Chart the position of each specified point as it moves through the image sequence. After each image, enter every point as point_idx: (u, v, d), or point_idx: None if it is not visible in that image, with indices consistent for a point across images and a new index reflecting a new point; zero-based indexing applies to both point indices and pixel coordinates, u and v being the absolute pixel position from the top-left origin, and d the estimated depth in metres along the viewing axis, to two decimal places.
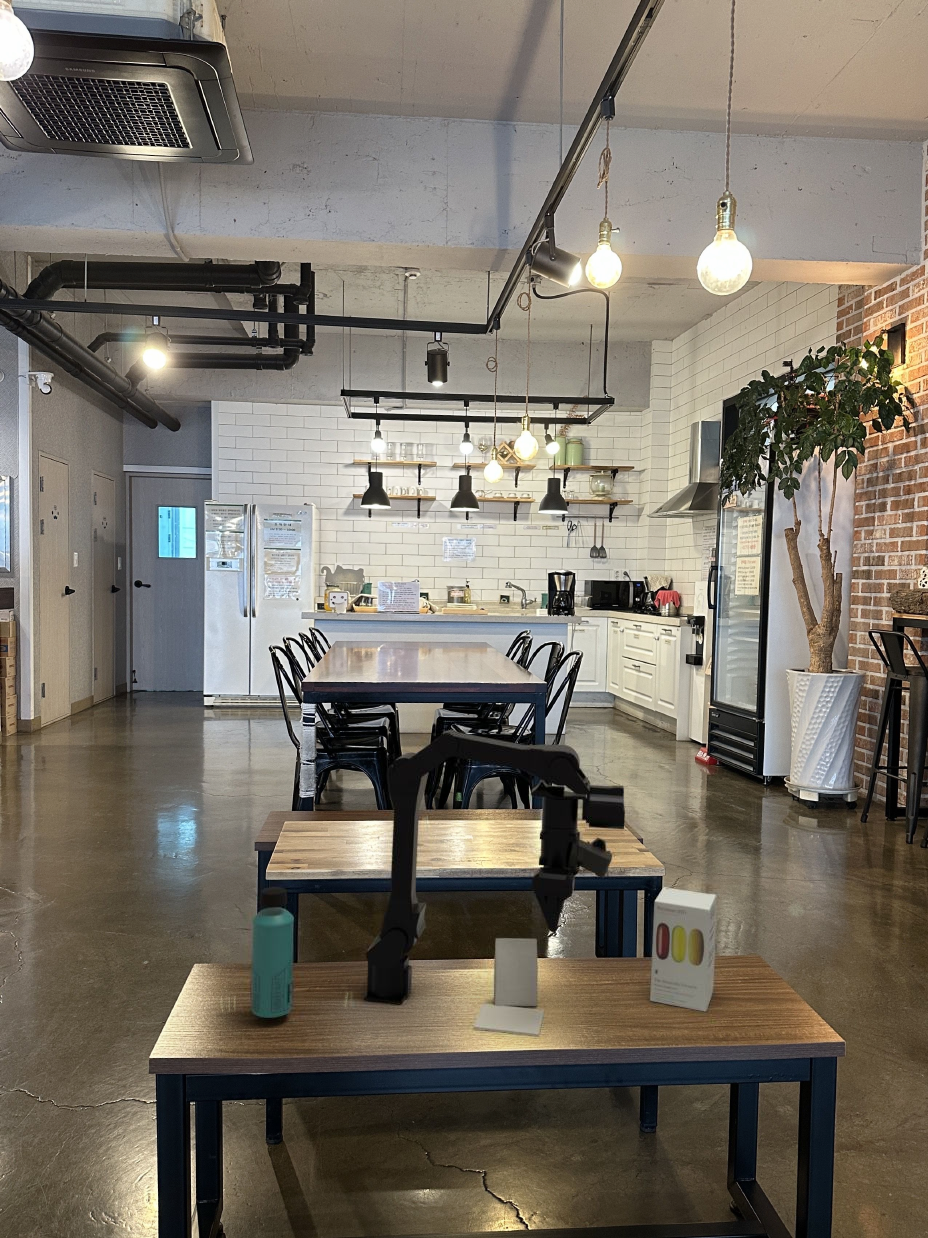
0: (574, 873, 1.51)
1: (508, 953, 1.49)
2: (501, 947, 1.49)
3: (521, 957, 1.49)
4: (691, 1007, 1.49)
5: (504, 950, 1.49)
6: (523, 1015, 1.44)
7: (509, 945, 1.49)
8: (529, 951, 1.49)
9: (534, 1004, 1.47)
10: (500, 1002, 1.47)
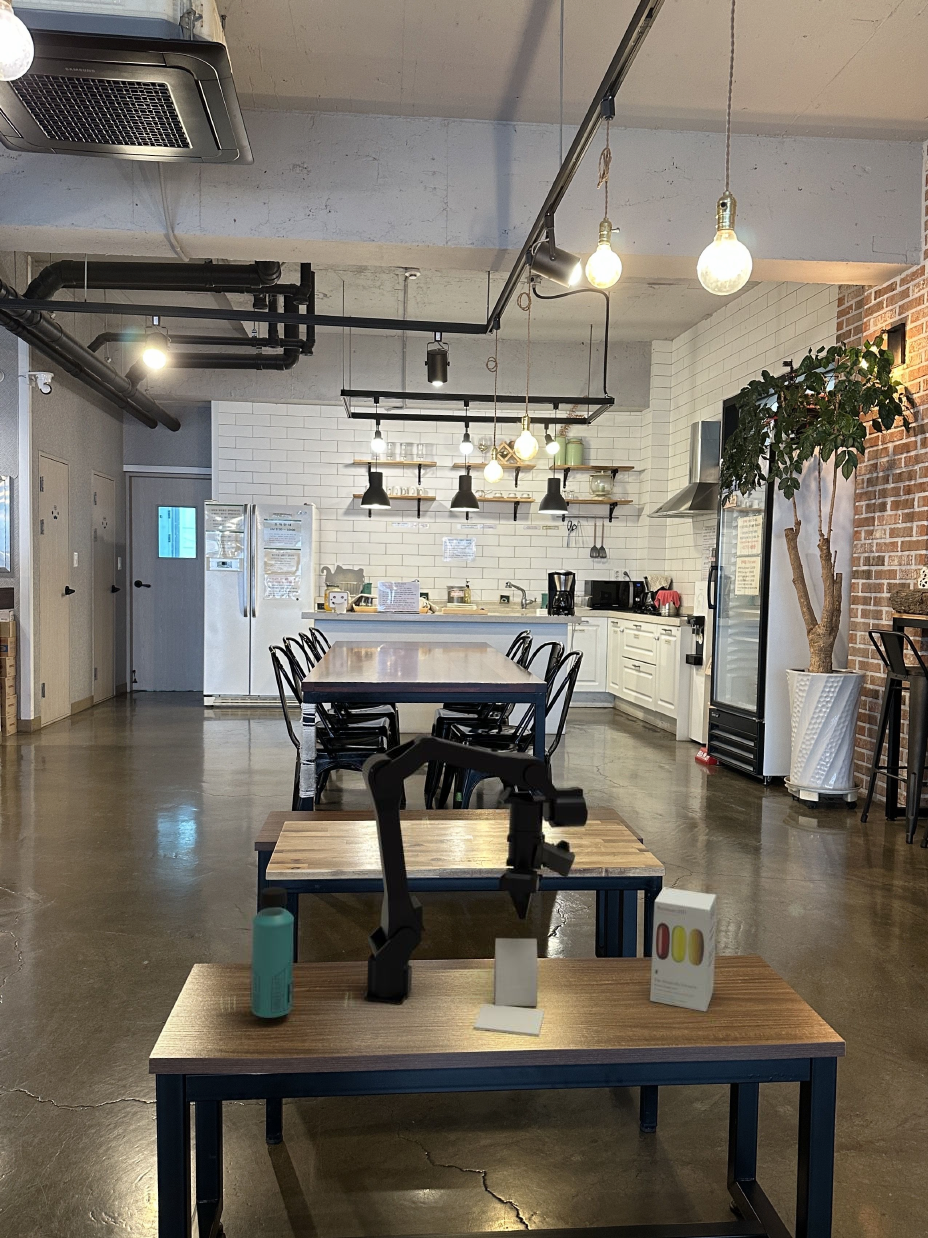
0: (538, 880, 1.57)
1: (508, 953, 1.49)
2: (501, 947, 1.49)
3: (521, 957, 1.49)
4: (691, 1007, 1.49)
5: (504, 950, 1.49)
6: (523, 1015, 1.44)
7: (509, 945, 1.49)
8: (529, 951, 1.49)
9: (534, 1004, 1.47)
10: (500, 1002, 1.47)
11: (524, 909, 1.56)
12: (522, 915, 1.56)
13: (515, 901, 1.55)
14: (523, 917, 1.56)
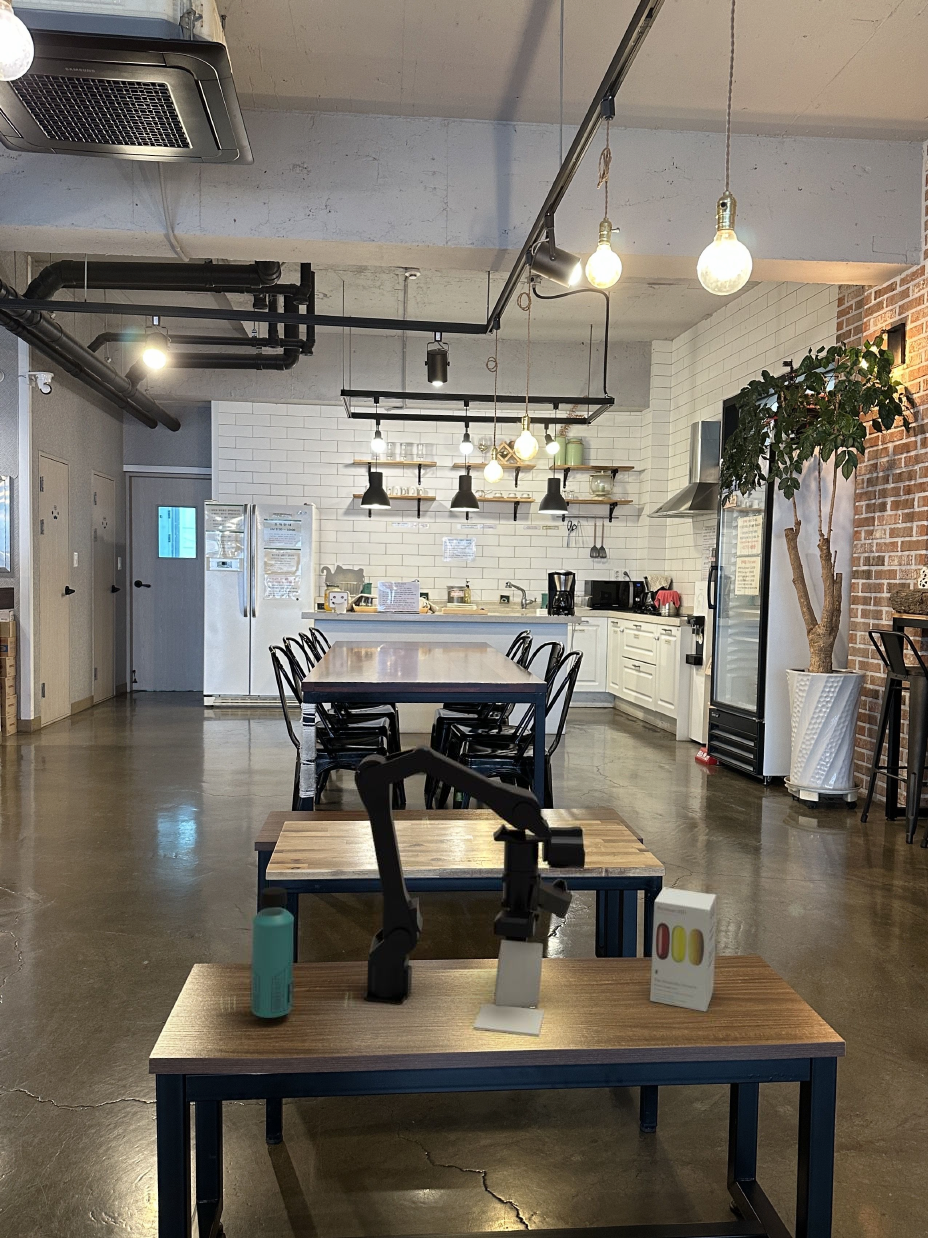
0: None
1: (513, 956, 1.47)
2: (506, 949, 1.47)
3: (525, 961, 1.47)
4: (691, 1007, 1.49)
5: (509, 953, 1.47)
6: (523, 1015, 1.44)
7: (515, 948, 1.48)
8: (534, 956, 1.47)
9: None
10: (500, 1002, 1.47)
11: None
12: None
13: None
14: None
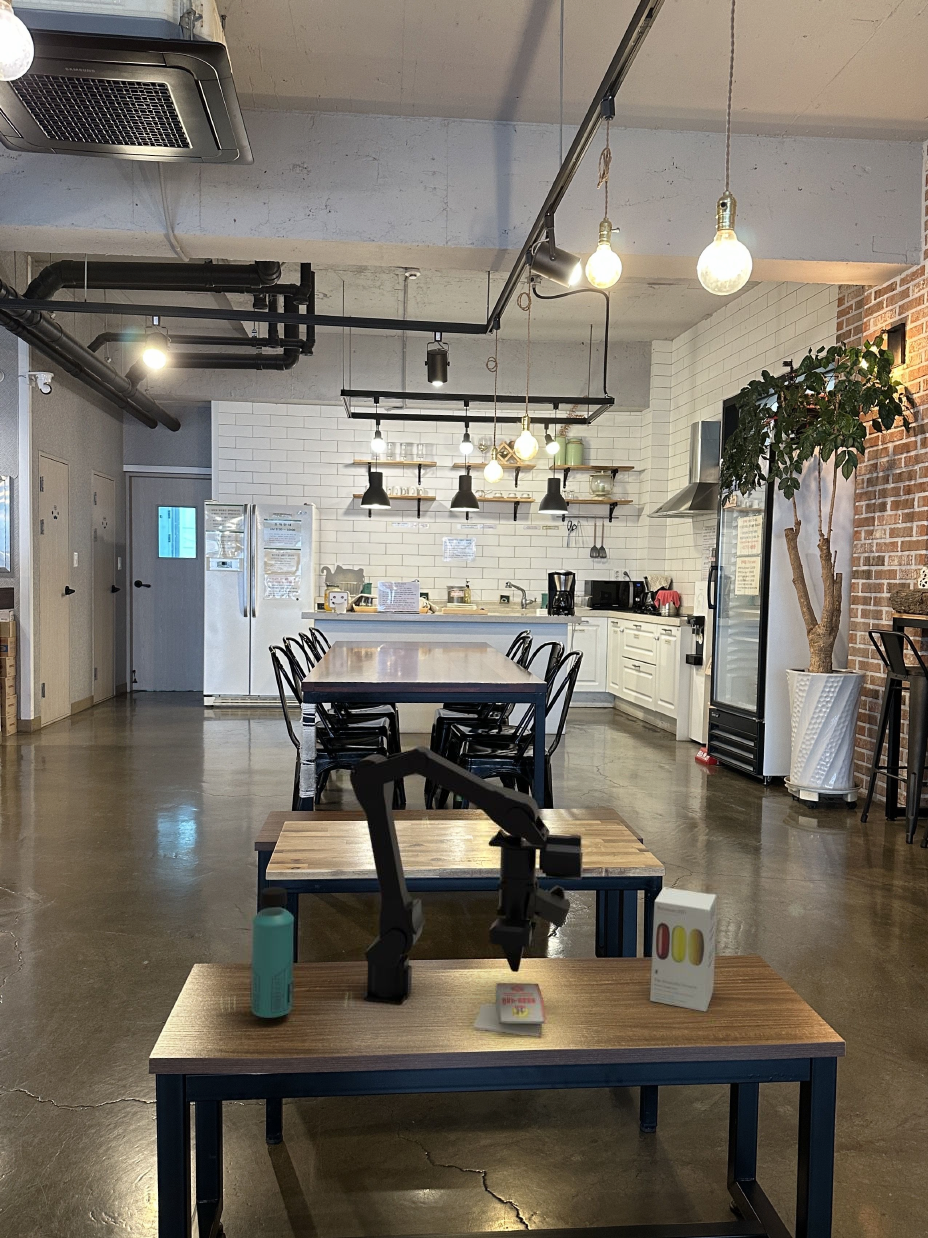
0: (531, 929, 1.47)
1: None
2: None
3: None
4: (691, 1007, 1.49)
5: None
6: None
7: None
8: None
9: None
10: None
11: (516, 961, 1.46)
12: (514, 967, 1.46)
13: (507, 952, 1.46)
14: (515, 969, 1.47)
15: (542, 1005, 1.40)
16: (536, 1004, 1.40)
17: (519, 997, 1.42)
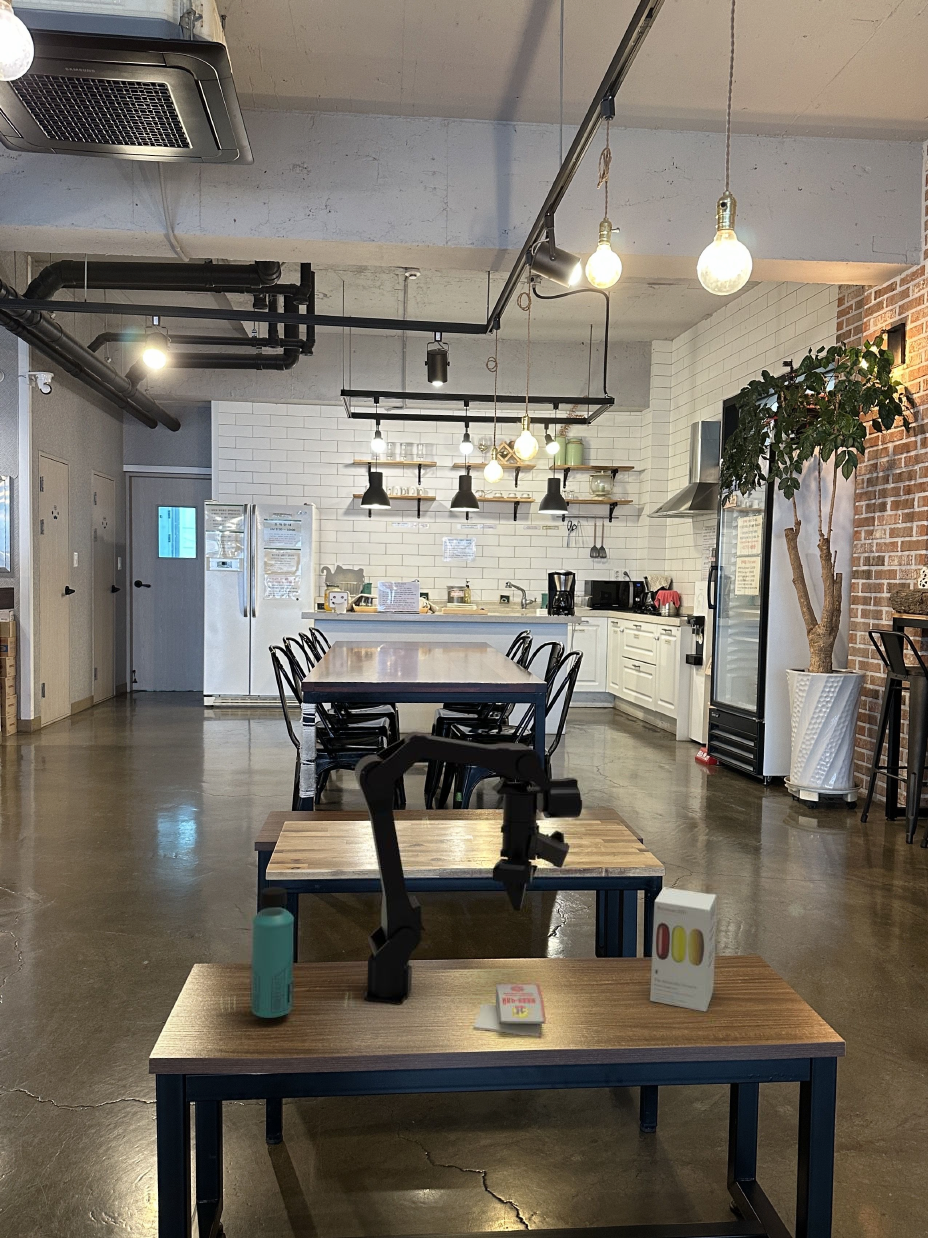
0: (532, 871, 1.56)
1: None
2: None
3: None
4: (691, 1007, 1.49)
5: None
6: None
7: None
8: None
9: None
10: None
11: (518, 900, 1.55)
12: (516, 906, 1.55)
13: (509, 892, 1.55)
14: (517, 908, 1.55)
15: (542, 1005, 1.40)
16: (536, 1004, 1.40)
17: (519, 997, 1.42)
